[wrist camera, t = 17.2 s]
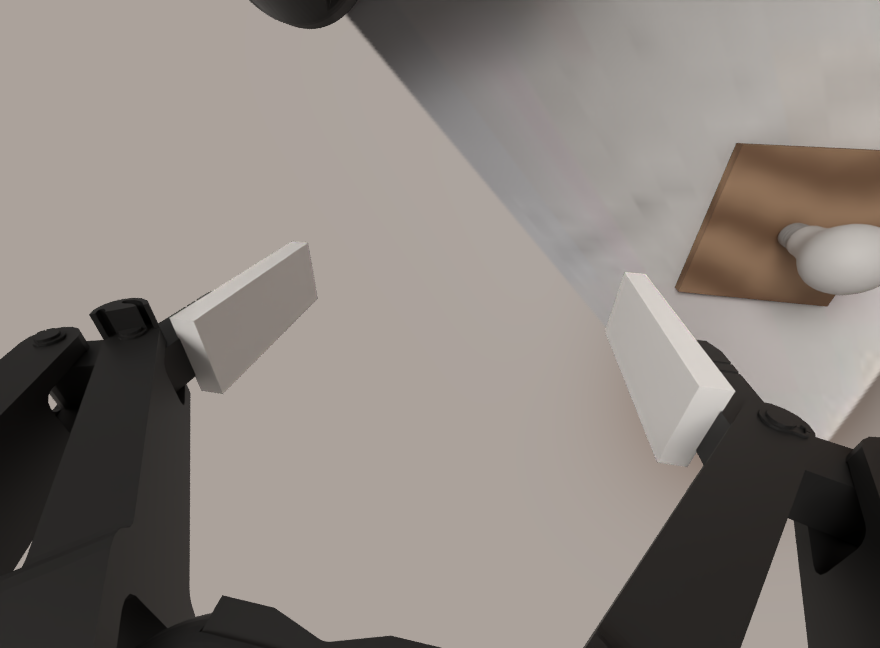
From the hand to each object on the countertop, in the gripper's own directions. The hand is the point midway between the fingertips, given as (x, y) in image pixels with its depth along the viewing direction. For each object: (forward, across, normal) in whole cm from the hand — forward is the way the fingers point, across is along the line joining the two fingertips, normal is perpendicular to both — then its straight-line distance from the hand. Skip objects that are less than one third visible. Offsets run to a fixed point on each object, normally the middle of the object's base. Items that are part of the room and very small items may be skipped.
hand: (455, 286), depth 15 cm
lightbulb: (+30, +32, -4) cm, 44 cm away
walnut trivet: (+31, +32, -4) cm, 44 cm away
